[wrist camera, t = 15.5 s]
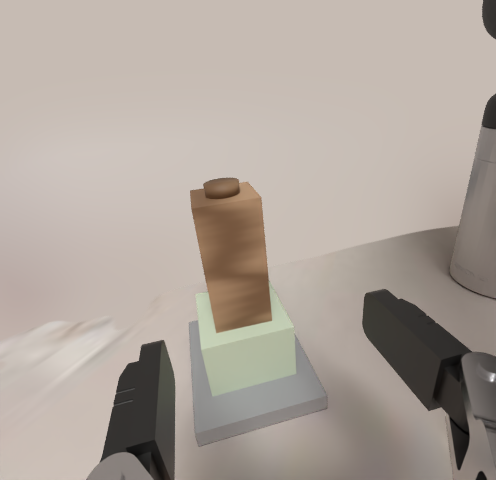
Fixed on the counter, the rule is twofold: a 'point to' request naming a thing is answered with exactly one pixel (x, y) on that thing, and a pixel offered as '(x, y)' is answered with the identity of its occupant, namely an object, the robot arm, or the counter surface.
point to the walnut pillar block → (233, 252)
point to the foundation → (248, 374)
